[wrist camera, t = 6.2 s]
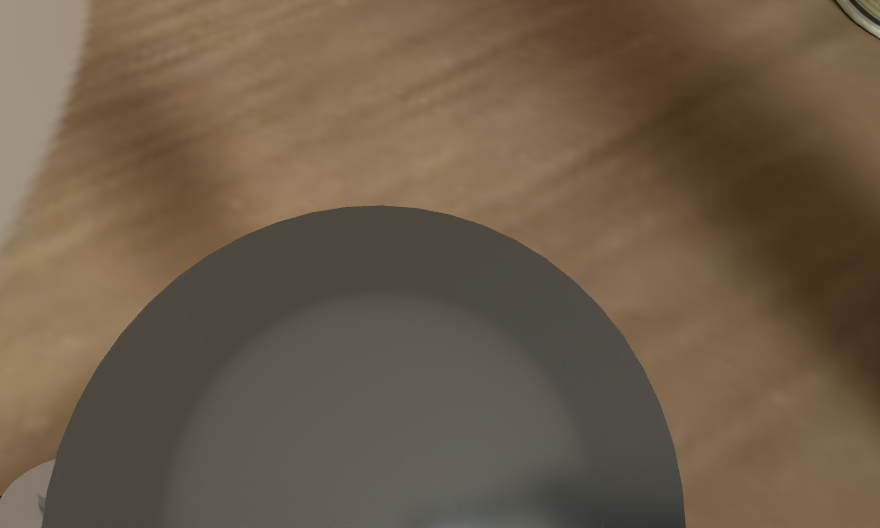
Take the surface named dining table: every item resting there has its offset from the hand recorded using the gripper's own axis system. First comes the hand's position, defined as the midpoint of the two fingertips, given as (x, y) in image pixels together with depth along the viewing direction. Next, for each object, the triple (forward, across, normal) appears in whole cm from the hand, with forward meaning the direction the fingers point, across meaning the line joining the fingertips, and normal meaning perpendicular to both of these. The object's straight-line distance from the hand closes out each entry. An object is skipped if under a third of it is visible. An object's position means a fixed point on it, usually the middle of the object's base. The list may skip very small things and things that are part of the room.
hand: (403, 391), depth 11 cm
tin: (+2, 0, +4) cm, 5 cm away
